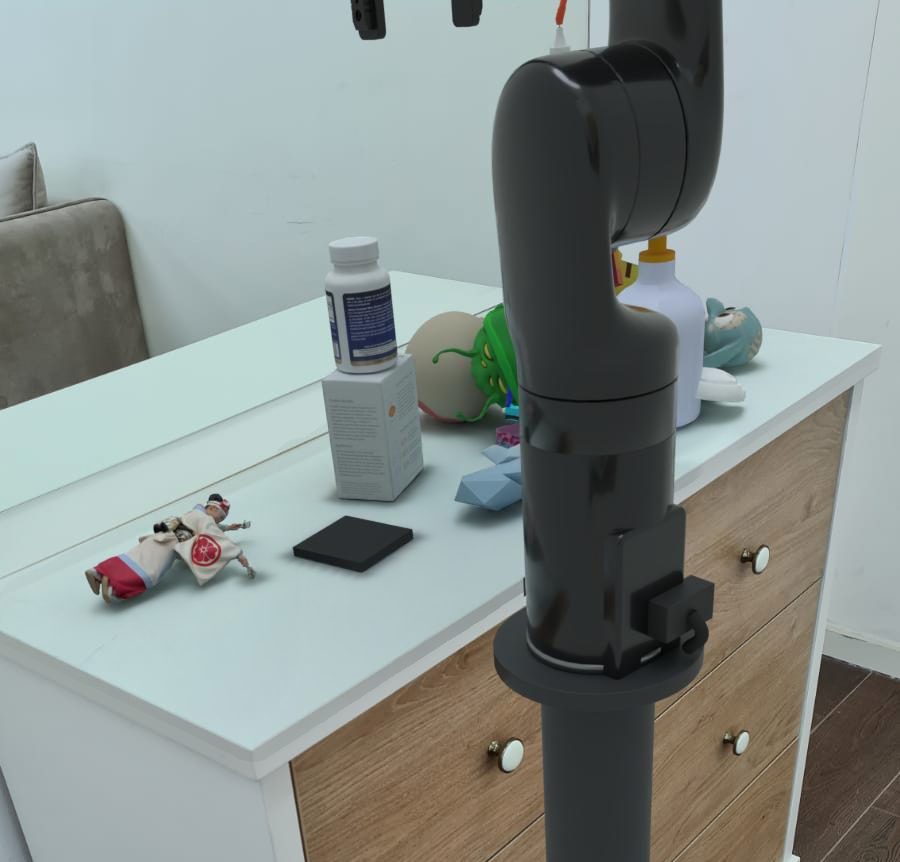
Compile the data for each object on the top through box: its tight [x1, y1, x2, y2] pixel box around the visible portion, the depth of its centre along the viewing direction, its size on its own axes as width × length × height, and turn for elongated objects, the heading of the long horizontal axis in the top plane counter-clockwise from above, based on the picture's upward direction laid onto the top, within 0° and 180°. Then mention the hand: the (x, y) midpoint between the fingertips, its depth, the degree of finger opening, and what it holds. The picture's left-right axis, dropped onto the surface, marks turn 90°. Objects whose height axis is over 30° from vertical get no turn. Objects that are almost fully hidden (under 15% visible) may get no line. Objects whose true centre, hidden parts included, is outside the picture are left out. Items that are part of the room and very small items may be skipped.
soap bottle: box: [617, 233, 706, 429], centre depth 107 cm, size 9×9×25 cm
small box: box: [320, 353, 425, 502], centre depth 103 cm, size 8×6×10 cm
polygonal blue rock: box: [453, 443, 522, 512], centre depth 99 cm, size 13×7×5 cm, turn 135°
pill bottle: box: [324, 235, 399, 373], centre depth 97 cm, size 5×5×10 cm
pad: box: [292, 514, 414, 573], centre depth 95 cm, size 7×7×1 cm
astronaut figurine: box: [695, 367, 747, 403], centre depth 115 cm, size 9×12×3 cm
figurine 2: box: [432, 303, 519, 422], centre depth 108 cm, size 13×15×10 cm
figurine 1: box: [84, 493, 257, 605], centre depth 93 cm, size 6×8×15 cm
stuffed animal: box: [703, 297, 763, 369], centre depth 125 cm, size 11×7×12 cm
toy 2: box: [404, 310, 490, 423], centre depth 116 cm, size 10×12×10 cm
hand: (421, 32), depth 82 cm, fingers open, 8 cm apart
